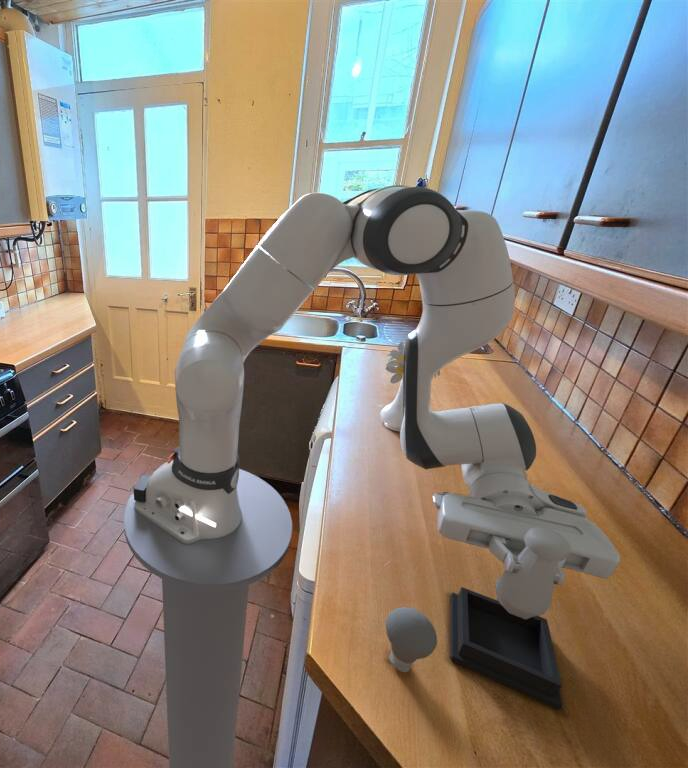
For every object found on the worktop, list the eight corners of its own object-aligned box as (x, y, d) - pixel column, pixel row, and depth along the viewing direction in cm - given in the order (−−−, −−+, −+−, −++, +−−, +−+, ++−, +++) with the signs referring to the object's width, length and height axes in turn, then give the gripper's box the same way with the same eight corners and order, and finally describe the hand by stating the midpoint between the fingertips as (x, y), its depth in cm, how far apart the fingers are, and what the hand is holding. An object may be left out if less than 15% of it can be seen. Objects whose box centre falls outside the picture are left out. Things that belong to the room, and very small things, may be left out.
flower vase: (367, 436, 112) (385, 351, 101) (377, 409, 126) (395, 332, 115) (420, 450, 105) (446, 361, 95) (425, 420, 119) (448, 339, 109)
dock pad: (450, 660, 58) (457, 644, 56) (450, 596, 67) (456, 581, 66) (560, 710, 52) (570, 694, 51) (543, 632, 61) (552, 617, 60)
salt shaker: (546, 633, 53) (587, 561, 47) (492, 612, 55) (525, 542, 50) (538, 598, 57) (575, 529, 52) (489, 580, 60) (519, 513, 54)
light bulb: (429, 664, 57) (448, 617, 53) (414, 697, 54) (434, 650, 49) (385, 634, 61) (399, 589, 57) (369, 664, 58) (383, 617, 53)
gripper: (436, 474, 67) (449, 533, 55) (597, 508, 59) (651, 584, 48) (426, 504, 69) (437, 566, 58) (580, 540, 62) (627, 619, 50)
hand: (535, 575), depth 53 cm, fingers closed on salt shaker, 3 cm apart
